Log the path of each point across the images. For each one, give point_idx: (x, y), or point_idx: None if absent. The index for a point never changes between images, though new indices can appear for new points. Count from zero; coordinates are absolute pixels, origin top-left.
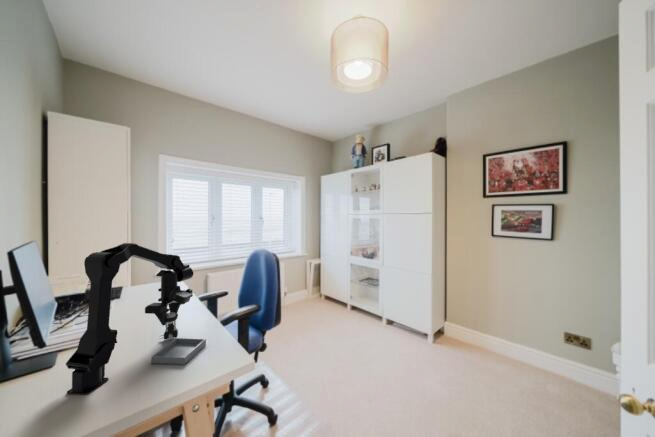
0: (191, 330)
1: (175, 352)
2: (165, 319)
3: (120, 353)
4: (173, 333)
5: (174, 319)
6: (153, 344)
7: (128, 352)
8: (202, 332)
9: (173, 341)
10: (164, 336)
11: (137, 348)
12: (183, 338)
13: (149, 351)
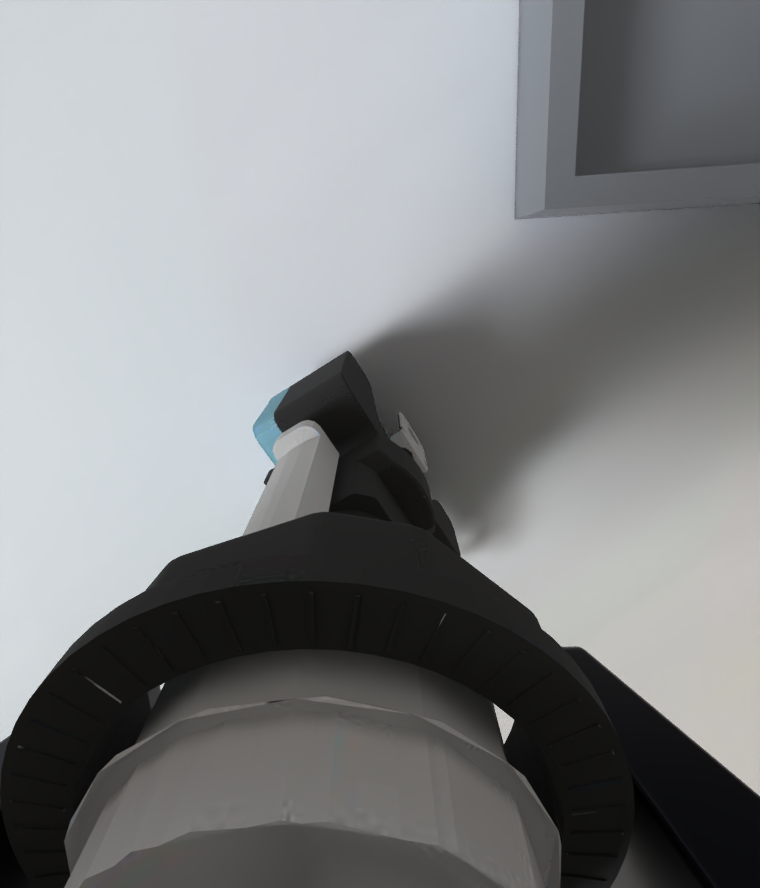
0: (27, 313)
1: None
2: (726, 812)
3: (733, 762)
4: (375, 421)
5: (391, 545)
6: (529, 572)
7: (719, 704)
8: (17, 5)
9: (696, 169)
10: (450, 524)
11: (630, 680)
12: (571, 5)
13: (721, 487)
